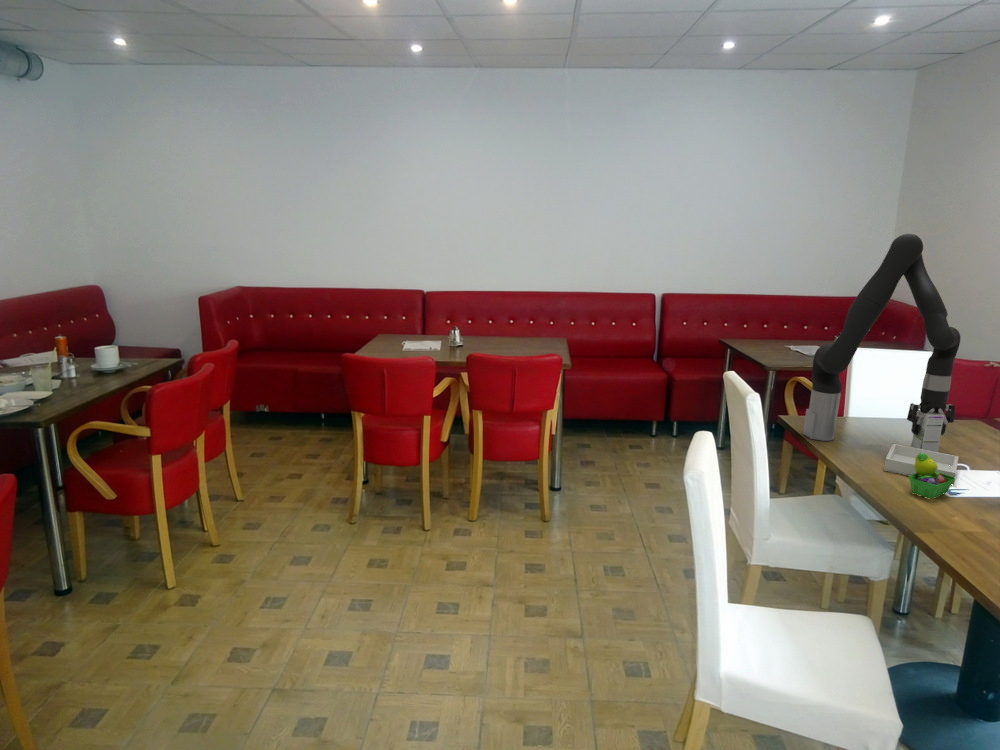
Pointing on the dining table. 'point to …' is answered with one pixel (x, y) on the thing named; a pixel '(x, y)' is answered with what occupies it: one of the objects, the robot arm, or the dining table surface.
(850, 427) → the dining table surface
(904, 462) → the tray
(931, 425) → the syrup box
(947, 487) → the fruit basket
